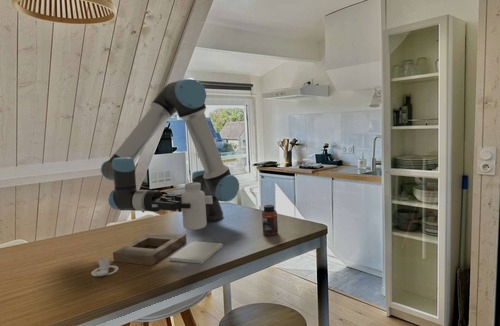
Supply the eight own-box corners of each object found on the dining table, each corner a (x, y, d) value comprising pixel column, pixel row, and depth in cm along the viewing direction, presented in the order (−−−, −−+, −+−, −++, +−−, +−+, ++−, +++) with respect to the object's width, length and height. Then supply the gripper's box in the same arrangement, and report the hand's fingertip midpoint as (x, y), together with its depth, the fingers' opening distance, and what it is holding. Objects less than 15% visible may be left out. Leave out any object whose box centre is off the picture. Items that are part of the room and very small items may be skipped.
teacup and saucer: (104, 280, 102) (103, 266, 102) (83, 277, 105) (82, 264, 105) (124, 268, 111) (123, 255, 110) (104, 265, 113) (103, 253, 113)
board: (193, 243, 129) (193, 241, 129) (222, 246, 125) (222, 243, 125) (169, 260, 114) (169, 257, 114) (202, 263, 110) (202, 260, 110)
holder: (152, 239, 136) (152, 232, 136) (186, 242, 131) (185, 234, 131) (113, 261, 116) (112, 252, 115) (151, 265, 111) (150, 256, 110)
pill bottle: (211, 224, 120) (209, 182, 118) (196, 231, 113) (193, 186, 111) (194, 222, 124) (191, 181, 122) (178, 228, 117) (175, 184, 116)
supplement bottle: (278, 231, 139) (277, 203, 138) (277, 236, 133) (276, 207, 132) (263, 231, 140) (262, 204, 139) (262, 236, 134) (261, 207, 133)
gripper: (166, 204, 134) (219, 206, 126) (130, 218, 114) (191, 222, 107) (164, 185, 133) (218, 186, 125) (128, 196, 114) (190, 198, 106)
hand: (206, 202), depth 116 cm, fingers closed on pill bottle, 8 cm apart
